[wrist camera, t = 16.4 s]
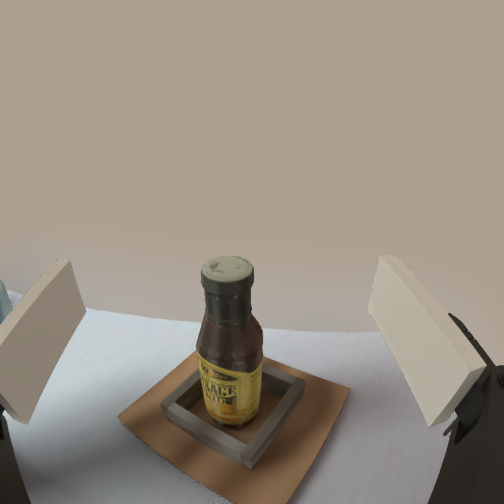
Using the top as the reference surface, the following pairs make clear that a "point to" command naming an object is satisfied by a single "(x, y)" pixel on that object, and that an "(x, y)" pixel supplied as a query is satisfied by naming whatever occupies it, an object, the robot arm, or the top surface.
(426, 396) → the robot arm
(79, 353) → the top surface
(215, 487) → the socket block
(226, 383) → the sauce bottle
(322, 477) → the top surface
